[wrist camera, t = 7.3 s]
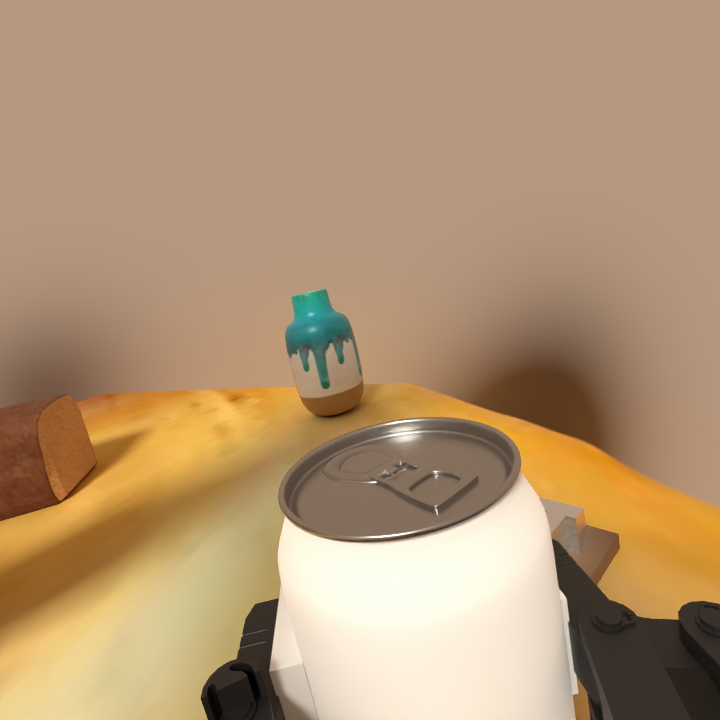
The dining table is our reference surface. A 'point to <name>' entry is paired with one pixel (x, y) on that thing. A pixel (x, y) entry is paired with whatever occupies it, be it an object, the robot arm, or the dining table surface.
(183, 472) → the dining table surface
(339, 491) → the can
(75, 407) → the bread
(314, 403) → the vase
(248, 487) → the dining table surface
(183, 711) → the dining table surface
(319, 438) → the dining table surface
